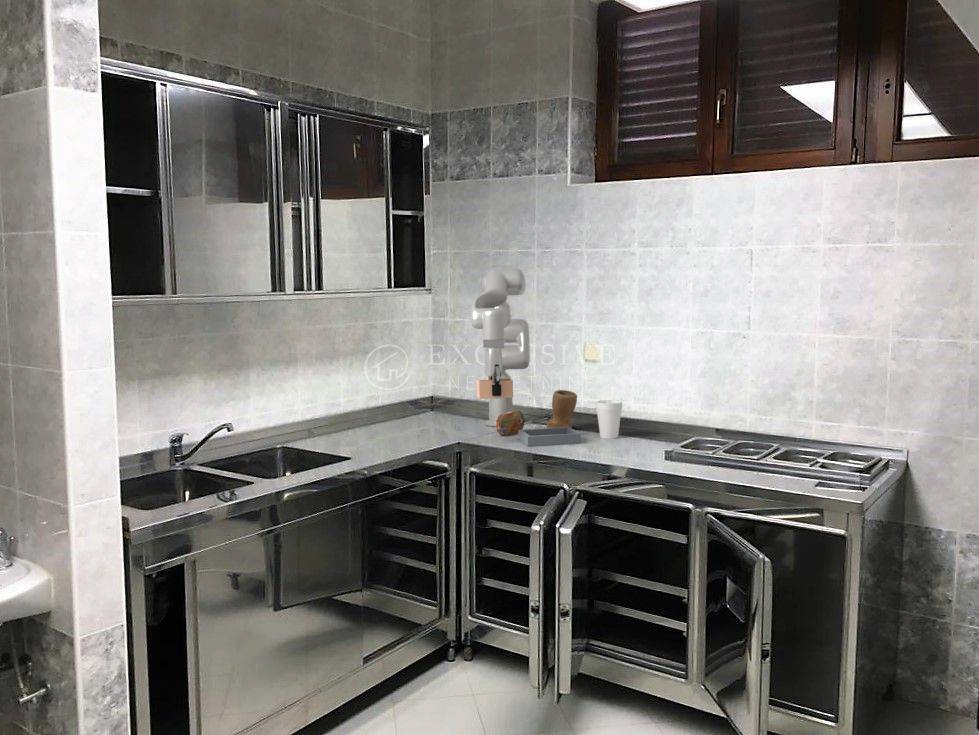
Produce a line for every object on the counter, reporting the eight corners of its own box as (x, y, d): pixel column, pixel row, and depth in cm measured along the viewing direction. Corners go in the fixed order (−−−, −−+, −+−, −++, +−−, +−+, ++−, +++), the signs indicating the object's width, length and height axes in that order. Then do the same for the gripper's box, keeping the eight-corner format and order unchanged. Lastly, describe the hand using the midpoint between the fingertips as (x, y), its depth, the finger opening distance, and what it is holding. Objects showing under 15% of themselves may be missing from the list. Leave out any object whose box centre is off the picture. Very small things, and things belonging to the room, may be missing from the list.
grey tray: (518, 439, 316) (518, 429, 315) (569, 436, 319) (569, 426, 319) (527, 446, 302) (527, 436, 301) (580, 443, 305) (580, 433, 305)
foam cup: (592, 438, 314) (592, 403, 313) (601, 434, 322) (601, 399, 321) (617, 440, 310) (617, 404, 308) (625, 435, 318) (625, 400, 317)
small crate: (476, 396, 311) (476, 379, 310) (509, 394, 313) (509, 378, 312) (479, 399, 304) (479, 382, 304) (513, 397, 306) (512, 380, 306)
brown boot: (575, 432, 327) (575, 393, 325) (544, 432, 329) (543, 392, 328) (580, 425, 341) (579, 387, 340) (550, 425, 344) (549, 387, 342)
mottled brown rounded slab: (501, 437, 320) (501, 415, 319) (495, 436, 322) (494, 414, 321) (525, 431, 332) (524, 409, 331) (518, 430, 334) (518, 408, 333)
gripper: (479, 342, 314) (480, 391, 316) (487, 346, 297) (488, 398, 299) (499, 342, 316) (500, 390, 318) (509, 346, 299) (510, 397, 301)
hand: (494, 394), depth 309 cm, fingers closed on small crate, 6 cm apart
